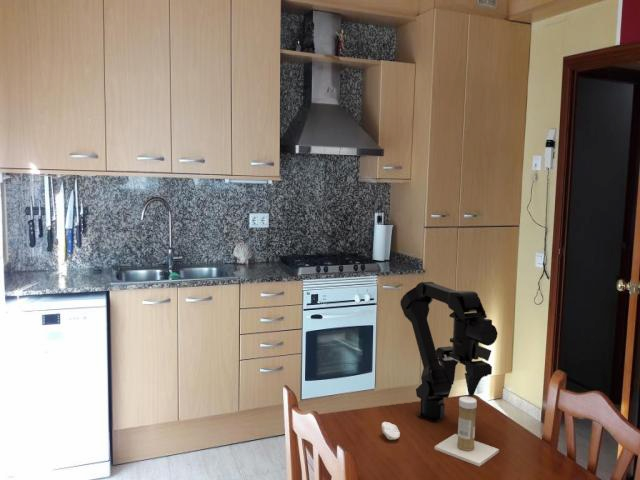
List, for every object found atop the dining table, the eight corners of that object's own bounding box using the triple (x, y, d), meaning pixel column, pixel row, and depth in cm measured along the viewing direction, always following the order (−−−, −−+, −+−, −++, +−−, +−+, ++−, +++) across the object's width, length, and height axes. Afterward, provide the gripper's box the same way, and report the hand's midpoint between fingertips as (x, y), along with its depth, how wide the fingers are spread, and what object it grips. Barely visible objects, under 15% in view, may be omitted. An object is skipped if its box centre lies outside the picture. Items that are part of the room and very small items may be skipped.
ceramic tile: (434, 449, 148) (434, 446, 148) (455, 436, 156) (455, 433, 156) (479, 466, 139) (479, 463, 139) (498, 452, 147) (499, 449, 147)
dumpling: (379, 432, 157) (380, 419, 157) (397, 432, 158) (398, 419, 157) (383, 444, 150) (384, 430, 150) (402, 444, 151) (403, 430, 150)
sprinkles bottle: (477, 448, 147) (480, 400, 146) (466, 453, 144) (468, 403, 143) (464, 442, 151) (467, 394, 150) (453, 446, 148) (455, 397, 147)
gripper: (509, 342, 149) (506, 398, 151) (466, 326, 166) (464, 376, 168) (475, 346, 145) (472, 403, 146) (435, 328, 162) (433, 380, 164)
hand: (460, 390), depth 156 cm, fingers open, 9 cm apart
